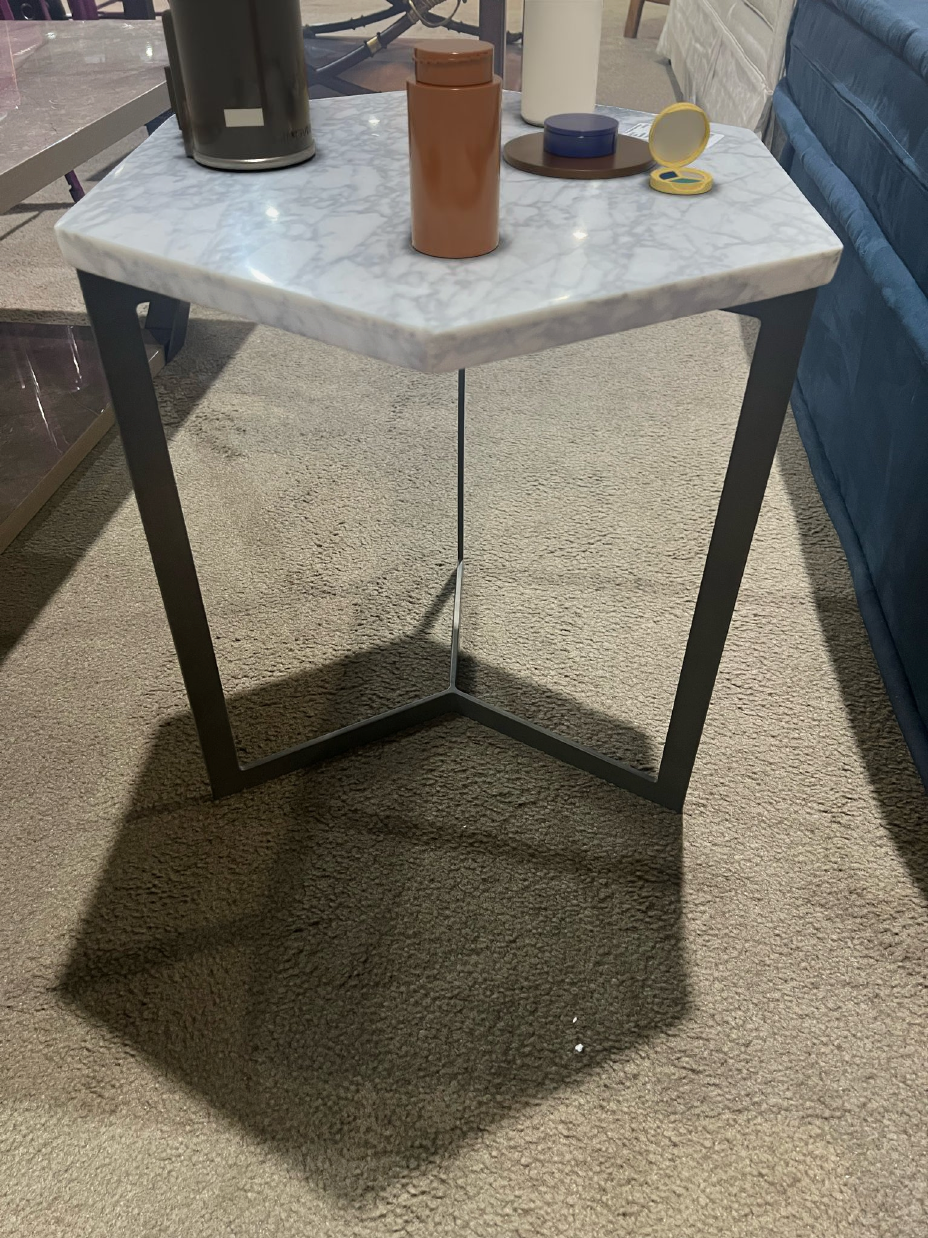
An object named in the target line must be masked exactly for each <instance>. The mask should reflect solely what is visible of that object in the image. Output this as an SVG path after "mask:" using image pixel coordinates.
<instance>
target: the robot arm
mask: <svg viewBox="0 0 928 1238" xmlns="http://www.w3.org/2000/svg"><path fill="white" fill-rule="evenodd" d="M168 6H169V8H168V9H164V10H163V11H162V13H161V25H162V29H163V35H164V41H165V47H166V52H167V58H168V63H169V64H168V65H167V66H164V67H163V71H164V76H165V81H166V87H167V93H168V98H169V103H170V110H171V112H172V113H174V114H175V119H176V122H177V126H178V130H179V131H181V135H182V142H183V147H184V152H185V155H187V156H191V157H193V158H194V160H195V161H196V162H198V163H200V164H202V165H205V166H207V167H212V168H216V169H217V168H218V169H225V170H239V171H244V170H245V171H247V170H248V171H249V170H252V171H253V170H254V171H255V170H266V169H274V168H283V167H287V166H293V165H295V164H299V163H301V162H304V161H306V160H308V159H310V158H311V157H313V156H314V155H315V153H316V145H315V139H314V138H313V128H312V117H311V108H310V107H311V105H310V93H309V85H308V84H309V83H308V74H307V73H308V72H307V63H306V53H305V52H306V51H305V42H304V32H303V31H304V30H303V22H302V11H301V1H300V0H168Z"/></svg>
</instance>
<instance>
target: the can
mask: <svg viewBox="0 0 928 1238" xmlns="http://www.w3.org/2000/svg"><path fill="white" fill-rule="evenodd" d="M523 11H524V12H523V13H524V15H523V38H522V40H523V43H522V65H521V66H522V67H521V68H522V70H521V97H520V98H521V100H520V101H521V103H520V115H521V117H522V118H523V120H524V122H526V123H527V124H528V125H529V124H530V125H532V126H536V127H540V128H541V127H542V128H544V121H545V119H546V118H548V117H550V116H554V115H558V114H566V113H590V114H595V108H596V97H597V86H598V85H597V84H598V73H599V61H600V49H601V37H602V26H603V25H602V24H603V13H604V12H603V11H604V0H524V10H523Z"/></svg>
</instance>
